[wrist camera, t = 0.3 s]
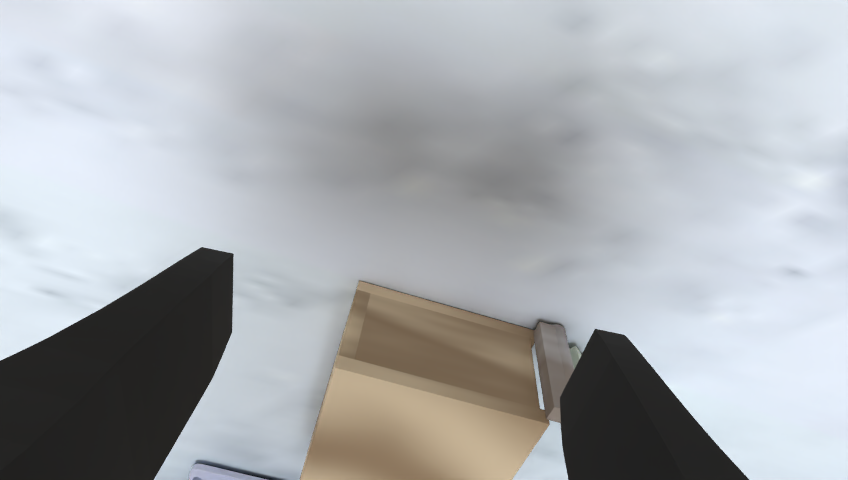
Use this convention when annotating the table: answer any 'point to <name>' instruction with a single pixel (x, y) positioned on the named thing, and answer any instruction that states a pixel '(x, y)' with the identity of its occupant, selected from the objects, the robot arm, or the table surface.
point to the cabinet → (434, 393)
